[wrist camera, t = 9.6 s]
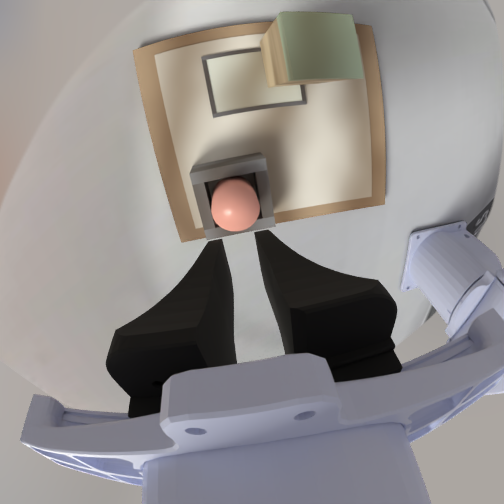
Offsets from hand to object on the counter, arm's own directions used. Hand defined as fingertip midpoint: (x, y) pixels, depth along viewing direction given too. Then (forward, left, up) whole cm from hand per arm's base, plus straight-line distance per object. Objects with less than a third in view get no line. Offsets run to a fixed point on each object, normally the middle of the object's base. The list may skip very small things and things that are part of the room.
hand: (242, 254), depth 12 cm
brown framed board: (-4, -5, -10) cm, 12 cm away
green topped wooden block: (-6, -9, -9) cm, 14 cm away
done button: (0, 0, -8) cm, 8 cm away
